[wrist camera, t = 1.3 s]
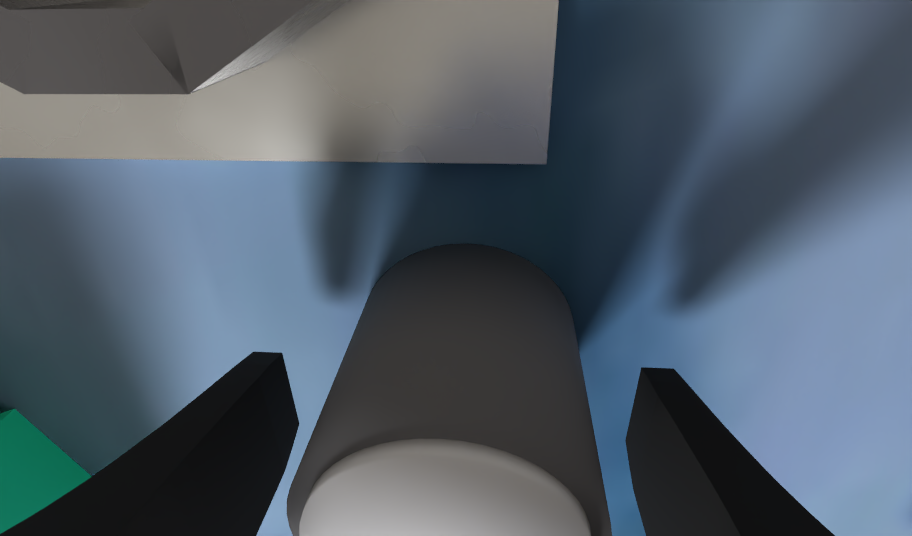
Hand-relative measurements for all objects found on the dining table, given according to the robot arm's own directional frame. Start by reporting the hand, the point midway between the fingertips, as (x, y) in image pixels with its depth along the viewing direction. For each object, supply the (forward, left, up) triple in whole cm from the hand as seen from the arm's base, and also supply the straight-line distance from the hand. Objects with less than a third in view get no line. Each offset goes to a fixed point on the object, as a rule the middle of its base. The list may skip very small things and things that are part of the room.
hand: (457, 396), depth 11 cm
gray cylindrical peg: (0, 0, -2) cm, 2 cm away
